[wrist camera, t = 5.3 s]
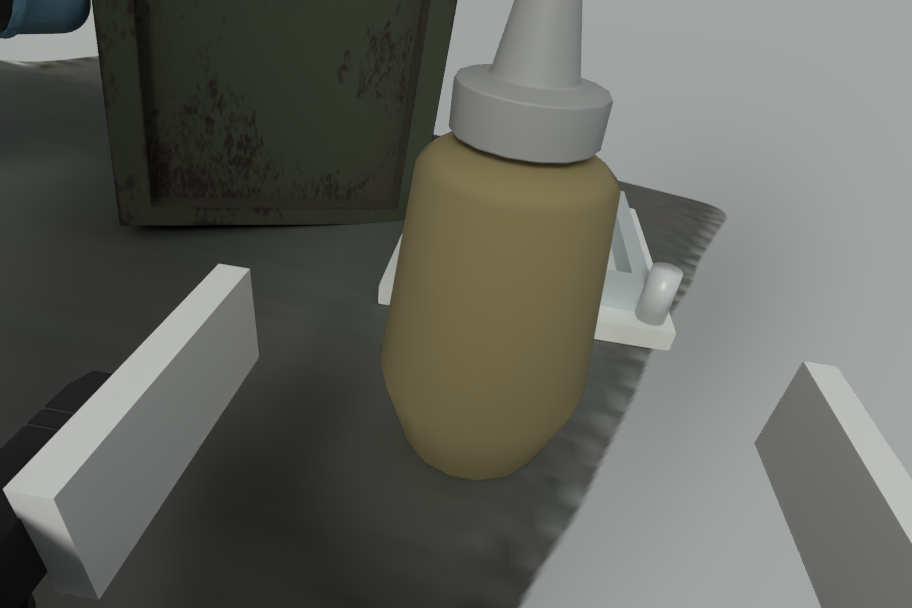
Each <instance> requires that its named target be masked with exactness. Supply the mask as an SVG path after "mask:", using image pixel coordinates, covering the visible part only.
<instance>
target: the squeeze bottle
mask: <svg viewBox="0 0 912 608" xmlns="http://www.w3.org/2000/svg"><path fill="white" fill-rule="evenodd" d="M581 33H582V0H515V1H514V4H513V6H512V9H511V12H510V15H509V18H508V21H507V24H506V26H505V29H504V32H503V35H502V38H501V41H500V44H499V47H498V49H497V52H496V55H495V58H494V61H493V64H482V65H473V66H469V67H465V68H462V69H460V70H459V71H458V72H457V74H456V75H455V77H454V84H453V93H452V102H451V111H450V122H449V127H450V129H451V130H452V132H449V133H447V134H445V135H442V136H440V137H438V138H436V139H435V140H433V141H432V142H430V143H429V144H427V145H426V146H425V147H423V148H422V150H421V152H420V154H419V155H418V157H417V159H416V161H415V166H414V172H413V178H412V183H411V189H410V194H409V200H408V205H407V211H406V216H405V222H404V228H403V233H402V239H401V244H400V250H399V255H398V261H397V266H396V272H395V277H394V283H393V289H392V294H391V300H390V305H389V311H388V316H387V322H386V327H385V333H384V338H383V344H382V350H381V355H380V362H381V366H382V370H383V375H384V379H385V383H386V387H387V390H388V392H389V395H390V397H391V400H392V403H393V405H394V408H395V410H396V413H397V415H398V418H399V421H400V423H401V426H402V428H403V431H404V433H405V436H406V439H407V441H408V443H409V444H410V445H411V447H412V448H413V449H414V450H415V451H416V453H417V454H418V455H419V456H420V457H421V459H422V460H423V461H424V462H426V463H427V464H429V465H431V466H433V467H435V468H436V469H438V470H440V471H442V472H444V473H445V474H447V475H450V476H455V477H460V478H466V479H471V480H477V481H480V480H487V479H494V478H501V477H506V476H508V475H510V474H511V473H513V472H515V471H517V470H518V469H520V468H522V467H523V466H525V465H527V464H528V463H529V462H530V461H531V460H532V459H533V457H534V456H535V455H536V454H537V453H538V452H539V451H540V450H541V449H542V448H543V447H544V446H545V445H546V443H547V442H548V441H549V440H550V439H551V438H552V437H553V436H554V435H555V434H556V433H557V432H558V431H559V429H560V428H561V427H562V426H563V425H564V424H565V423H566V422H567V421H568V420H569V418H570V417H571V415H572V413H573V412H574V410H575V408H576V407H577V405H578V403H579V402H580V400H581V398H582V397H583V395H584V390H585V385H586V379H587V374H588V368H589V363H590V357H591V352H592V347H593V341H594V336H595V330H596V325H597V319H598V314H599V308H600V303H601V298H602V292H603V287H604V281H605V276H606V270H607V265H608V260H609V254H610V249H611V243H612V238H613V232H614V227H615V221H616V216H617V211H618V205H619V200H620V194H621V192H620V189H619V185H618V181H617V178H616V177H615V176H614V174H613V173H612V171H611V170H610V169H609V167H608V166H607V165H606V163H605V162H603V161H602V160H601V159H600V158H598V157H597V156H596V155H595V154H596V153H597V152H599V151H600V149H601V145H602V142H603V138H604V134H605V130H606V127H607V123H608V118H609V115H610V111H611V107H612V103H613V101H612V98H611V95H610V93H609V91H608V90H606V89H604V88H603V87H601V86H599V85H598V84H596V83H594V82H591V81H588V80H586V79H583V78H581V76H580V75H581Z"/></svg>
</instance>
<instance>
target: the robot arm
mask: <svg viewBox="0 0 912 608" xmlns="http://www.w3.org/2000/svg"><path fill="white" fill-rule="evenodd" d="M90 7H91V1H90V0H0V38H5V39H6V38H11V37H14V36H15V35H17V34H55V33H57V34H58V33H68V32H72V31H74V30H76V29H78V28H80V27H81V26H82V25H83V24H84V23H85V21H86V20H87V18H88V16H89V13H90ZM258 358H259V351H258V342H257V332H256V323H255V313H254V304H253V294H252V285H251V276H250V269H248V268H242V267H236V266H230V265H224V264H218V265H217V266H216V267H215V268H214V269H213V270H212V271H211V272H210V273H209V274H208V276H207V277H206V278H205V279H204V280H203V281H202V282H201V283H200V284H199V285H198V286H197V287H196V288H195V289H194V290H193V291H192V292H191V293H190V294H189V295H188V296H187V297H186V298H185V300H184V301H183V302H182V303H181V304H180V305H179V306H178V307H177V308H176V309H175V310H174V311H173V312H172V313H171V314H170V315H169V316H168V317H167V318H166V319H165V320H164V321H163V322H162V324H161V325H160V326H159V327H158V328H157V329H156V330H155V331H154V332H153V333H152V334H151V335H150V336H149V337H148V338H147V339H146V340H145V341H144V342H143V343H142V344H141V345H140V346H139V348H138V349H137V350H136V351H135V352H134V353H133V354H132V355H131V356H130V357H129V358H128V359H127V360H126V361H125V362H124V363H123V364H122V365H121V366H120V367H119V368H118V369H117V370H116V371H115V373H114V374H109V373H103V372H98V371H92V372H90V373H89V374H87V375H85V376H83V377H81V378H80V379H78V380H76V381H74V382H72V383H71V384H69V385H67V386H65V387H64V388H63V389H62V390H61V391H60V392H59V393H58V394H57V395H56V396H55V397H54V398H53V399H52V400H51V401H50V402H49V403H48V404H47V405H46V406H45V409H44V410H41V411H40V412H39V413H37V414H36V415H35V416H34V417H33V418H32V419H31V420H30V421H29V422H28V426H27V427H23V428H22V429H21V430H20V431H19V432H18V433H17V434H16V435H15V436H14V437H13V438H12V439H11V440H9V441H8V442H7V443H6V444H5V445H4V446H3V447H2V448H1V449H0V608H36V603H35V600H34V598H33V595H32V591H33V590H34V589H35V587H36V586H37V585H38V584H39V582H40V581H41V580H42V578H43V577H44V576H45V574H46V573H47V575H48V577H49V579H50V581H51V583H52V585H53V586H54V588H55V590H56V592H60V593H65V594H71V595H76V596H81V597H86V598H91V599H96V600H99V599H100V598H101V596H102V595H103V593H104V592H105V590H106V589H107V587H108V586H109V584H110V583H111V581H112V580H113V578H114V577H115V575H116V574H117V572H118V571H119V569H120V568H121V566H122V564H123V563H124V561H125V560H126V558H127V557H128V555H129V554H130V552H131V551H132V549H133V548H134V546H135V545H136V543H137V542H138V540H139V539H140V537H141V536H142V534H143V533H144V531H145V530H146V528H147V527H148V525H149V523H150V522H151V520H152V519H153V517H154V516H155V514H156V513H157V511H158V510H159V508H160V507H161V505H162V504H163V502H164V501H165V499H166V498H167V496H168V495H169V493H170V492H171V490H172V489H173V487H174V486H175V484H176V482H177V481H178V479H179V478H180V476H181V475H182V473H183V472H184V470H185V469H186V467H187V466H188V464H189V463H190V461H191V460H192V458H193V457H194V455H195V454H196V452H197V451H198V449H199V448H200V446H201V445H202V443H203V441H204V440H205V438H206V437H207V435H208V434H209V432H210V431H211V429H212V428H213V426H214V425H215V423H216V422H217V420H218V419H219V417H220V416H221V414H222V413H223V411H224V410H225V408H226V407H227V405H228V404H229V402H230V401H231V399H232V397H233V396H234V394H235V393H236V391H237V390H238V388H239V387H240V385H241V384H242V382H243V381H244V379H245V378H246V376H247V375H248V373H249V372H250V370H251V369H252V367H253V366H254V364H255V363H256V361H257V360H258ZM755 445H756V448H757V450H758V452H759V455H760V458H761V460H762V462H763V465H764V467H765V470H766V472H767V475H768V477H769V480H770V482H771V485H772V487H773V490H774V492H775V494H776V497H777V499H778V502H779V504H780V506H781V509H782V512H783V514H784V517H785V519H786V521H787V524H788V526H789V529H790V531H791V534H792V536H793V539H794V541H795V544H796V546H797V549H798V551H799V553H800V556H801V558H802V561H803V563H804V565H805V568H806V571H807V573H808V576H809V578H810V580H811V583H812V585H813V588H814V590H815V593H816V595H817V598H818V600H819V603H820V605H821V608H912V479H911V478H910V476H909V475H908V473H907V472H906V470H905V469H904V467H903V466H902V464H901V462H900V461H899V459H898V458H897V457H896V455H895V453H894V452H893V450H892V449H891V447H890V446H889V444H888V443H887V441H886V440H885V438H884V437H883V436H882V434H881V432H880V431H879V429H878V428H877V426H876V425H875V423H874V422H873V420H872V419H871V417H870V416H869V414H868V413H867V411H866V410H865V408H864V407H863V405H862V404H861V402H860V401H859V399H858V398H857V396H856V395H855V393H854V392H853V390H852V389H851V387H850V386H849V384H848V383H847V381H846V380H845V378H844V377H843V375H842V374H841V372H840V371H839V369H838V368H837V367H835V366H830V365H823V364H818V363H812V362H806V361H803V362H802V364H801V366H800V367H799V369H798V371H797V373H796V374H795V376H794V378H793V379H792V381H791V383H790V384H789V386H788V388H787V389H786V391H785V393H784V395H783V396H782V398H781V399H780V401H779V403H778V405H777V406H776V408H775V410H774V411H773V413H772V414H771V416H770V418H769V420H768V422H767V423H766V425H765V426H764V428H763V430H762V431H761V433H760V435H759V436H758V438H757V440H756V442H755Z"/></svg>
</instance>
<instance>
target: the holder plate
mask: <svg viewBox="0 0 912 608" xmlns="http://www.w3.org/2000/svg"><path fill="white" fill-rule="evenodd" d="M620 192H621V194H620V200H619V205H618V211H617V216H616V221H615V227H614V232H613V238H612V243H611V249H610V254H609V260H608V265H607V270H606V276H605V281H604V287H603V292H602V298H601V303H600V308H599V314H598V319H597V325H596V330H595V336H594V339H597V340H603V341H610V342H616V343H622V344H628V345H634V346H640V347H646V348H652V349H658V350H664V351H669V349H670V347H671V345H672V342H673V340H674V337H675V335H676V332H675V329H674V326H673V323H672V320H671V317H670V314H669V309H670V307H671V304H672V302H673V299H674V297H675V294H676V292H677V289H678V287H679V284H680V282H681V279H682V277H683V272H682V271H681V270H680V269H679V268H678V267H676V266H674V265H671V264H668V263H663V262H657V263H654V264H653V263H652V260H651V257H650V254H649V251H648V248H647V245H646V242H645V238H644V235H643V232H642V229H641V226H640V223H639V220H638V217H637V214H636V211H635V209H631V208H629V206H628V203H627V200H626V196H625V193H624V192H623V191H620ZM401 239H402V235H401V237H400V239H399V242H398V244H397V246H396V248H395V251H394V253H393V255H392V257H391V260H390V262H389V264H388V266H387V268H386V271H385V273H384V275H383V277H382V280H381V282H380V284H379V297H378V303H379V304H385V305H390V300H391V294H392V289H393V283H394V277H395V272H396V266H397V261H398V255H399V250H400V244H401Z"/></svg>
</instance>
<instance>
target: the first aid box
mask: <svg viewBox="0 0 912 608" xmlns="http://www.w3.org/2000/svg"><path fill="white" fill-rule="evenodd" d="M456 5H457V0H92V6H93V13H94V22H95V30H96V37H97V46H98V54H99V62H100V70H101V78H102V86H103V94H104V102H105V110H106V118H107V126H108V134H109V142H110V150H111V158H112V166H113V174H114V182H115V190H116V198H117V206H118V214H119V222H120V226H138V225H310V224H364V223H375V222H386V221H397V220H405V216H406V211H407V205H408V200H409V194H410V189H411V183H412V178H413V172H414V166H415V161H416V159H417V157H418V155H419V154H420V152H421V150H422V148H423V147H425V146H426V145H427V144H429V143H430V142H432V138H433V132H434V127H435V121H436V116H437V110H438V105H439V99H440V94H441V88H442V82H443V77H444V71H445V66H446V60H447V55H448V49H449V43H450V38H451V33H452V27H453V21H454V16H455V10H456Z"/></svg>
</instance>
